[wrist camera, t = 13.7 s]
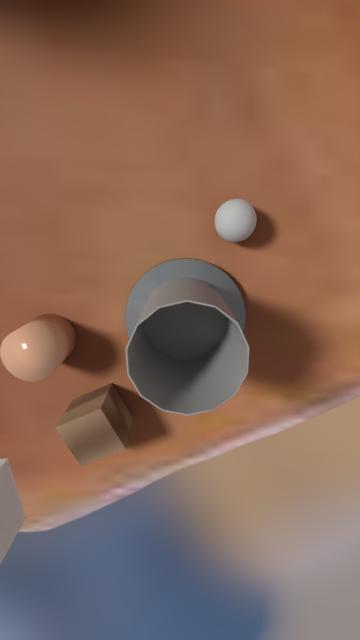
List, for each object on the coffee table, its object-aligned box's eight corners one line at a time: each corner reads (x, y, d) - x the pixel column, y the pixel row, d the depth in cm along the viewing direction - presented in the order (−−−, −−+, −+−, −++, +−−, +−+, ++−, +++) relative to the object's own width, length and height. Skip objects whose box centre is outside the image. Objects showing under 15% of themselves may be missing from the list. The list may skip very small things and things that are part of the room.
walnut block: (73, 399, 33) (55, 427, 28) (112, 382, 33) (100, 408, 28) (95, 433, 34) (81, 466, 30) (133, 418, 34) (125, 449, 29)
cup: (236, 287, 29) (265, 316, 19) (216, 364, 31) (232, 423, 21) (150, 269, 28) (135, 288, 19) (136, 348, 30) (116, 402, 21)
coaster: (119, 263, 29) (117, 264, 28) (243, 253, 28) (245, 254, 28) (134, 375, 32) (133, 378, 31) (245, 367, 32) (246, 370, 31)
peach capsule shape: (23, 315, 30) (-6, 331, 26) (71, 312, 30) (51, 327, 25) (34, 360, 32) (8, 383, 27) (80, 357, 32) (62, 379, 27)
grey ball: (211, 202, 27) (216, 198, 24) (251, 199, 27) (261, 194, 24) (213, 243, 28) (218, 244, 25) (251, 239, 28) (261, 241, 25)
